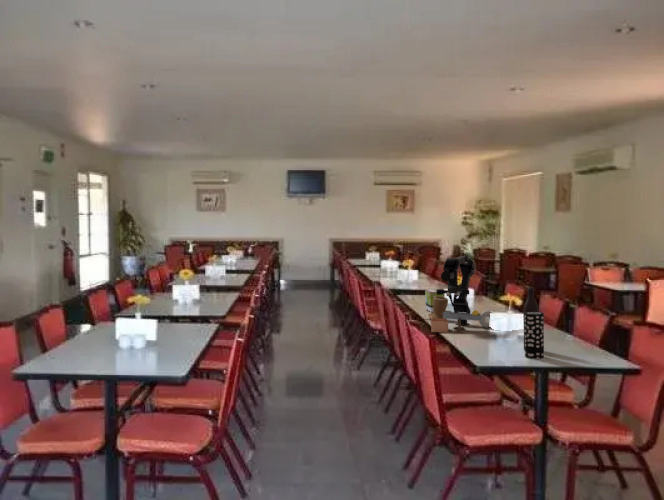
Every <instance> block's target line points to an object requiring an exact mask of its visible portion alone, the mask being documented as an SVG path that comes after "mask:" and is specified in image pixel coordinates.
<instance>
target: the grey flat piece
mask: <svg viewBox="0 0 664 500" xmlns="http://www.w3.org/2000/svg"><path fill="white" fill-rule="evenodd" d="M459 318H461V320H467V321H479V320H480V321H481V313H480V312H479V316H473V315H472V313H470V314H468V313H466V312H461V313H454V312H446V311H445V312H443V319H447V320H458V319H459Z"/></svg>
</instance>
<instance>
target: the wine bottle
mask: <svg viewBox="0 0 664 500" xmlns="http://www.w3.org/2000/svg"><path fill="white" fill-rule="evenodd" d="M527 292H528V293H527V298H526V301H525V303H524V305H523V311H522V312H523V314H522V315H523V316H522V317H523V318H522V319H523V350H524V351H525V315H524V313H526V312H540V311H539V308H540V307H539V305H538V303H537V301H536V298H535V295H534V294H535V293H534V292H535V288H534V287H528V288H527Z"/></svg>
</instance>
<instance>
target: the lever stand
mask: <svg viewBox="0 0 664 500" xmlns="http://www.w3.org/2000/svg"><path fill="white" fill-rule="evenodd" d="M457 323H458V325H457V326H453V330H454V331H453V332H454V333H455V334H458V333H459V334H464V333H466V330H465V326H462V325H461V318H459V319H457Z"/></svg>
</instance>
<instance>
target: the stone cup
mask: <svg viewBox="0 0 664 500" xmlns="http://www.w3.org/2000/svg"><path fill="white" fill-rule="evenodd" d="M448 305H449V298H447V297H445V296H444V297H441V296H435V297H434V298H433V313H431V312H430V313H429V314H428V315H427V316H428V318H429V319H430V320H431V315H432V319H443V312H446V310H447V308H448Z"/></svg>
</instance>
